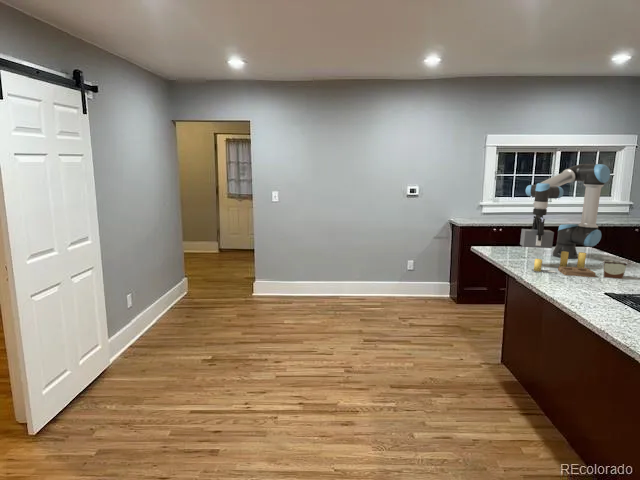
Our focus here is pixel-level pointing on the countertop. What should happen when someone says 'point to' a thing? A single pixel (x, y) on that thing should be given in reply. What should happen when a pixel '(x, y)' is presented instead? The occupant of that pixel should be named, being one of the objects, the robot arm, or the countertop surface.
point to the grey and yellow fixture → (538, 267)
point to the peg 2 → (581, 260)
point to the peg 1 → (564, 259)
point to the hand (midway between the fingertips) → (536, 244)
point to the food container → (614, 268)
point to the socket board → (576, 271)
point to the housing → (530, 238)
